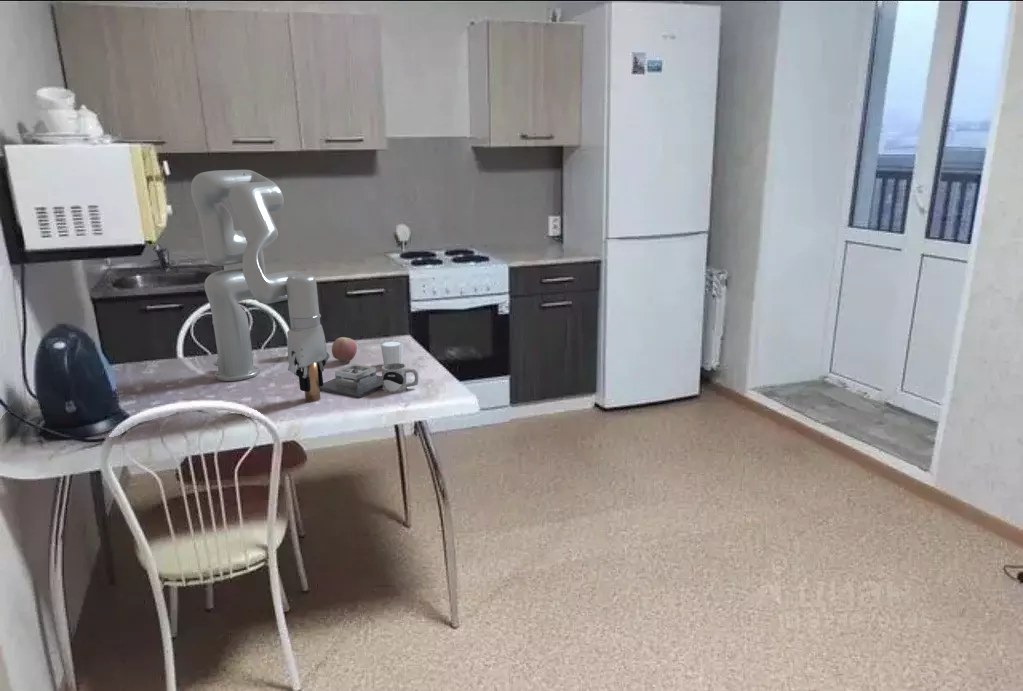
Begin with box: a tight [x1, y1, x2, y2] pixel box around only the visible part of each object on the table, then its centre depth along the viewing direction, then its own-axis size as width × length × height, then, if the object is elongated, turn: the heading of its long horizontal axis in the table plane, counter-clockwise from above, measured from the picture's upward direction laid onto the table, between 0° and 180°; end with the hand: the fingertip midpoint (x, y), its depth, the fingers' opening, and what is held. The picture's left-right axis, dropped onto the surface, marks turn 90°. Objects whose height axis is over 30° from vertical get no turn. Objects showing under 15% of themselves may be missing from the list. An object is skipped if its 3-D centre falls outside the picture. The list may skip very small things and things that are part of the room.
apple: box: [331, 336, 358, 362], centre depth 223 cm, size 8×8×8 cm
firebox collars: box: [319, 363, 383, 399], centre depth 201 cm, size 16×15×5 cm
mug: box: [381, 363, 419, 394], centre depth 197 cm, size 10×7×7 cm
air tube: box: [301, 362, 322, 403], centre depth 190 cm, size 4×4×11 cm
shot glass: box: [380, 340, 404, 365], centre depth 219 cm, size 7×7×7 cm
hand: (311, 387), depth 190 cm, fingers closed on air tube, 4 cm apart
